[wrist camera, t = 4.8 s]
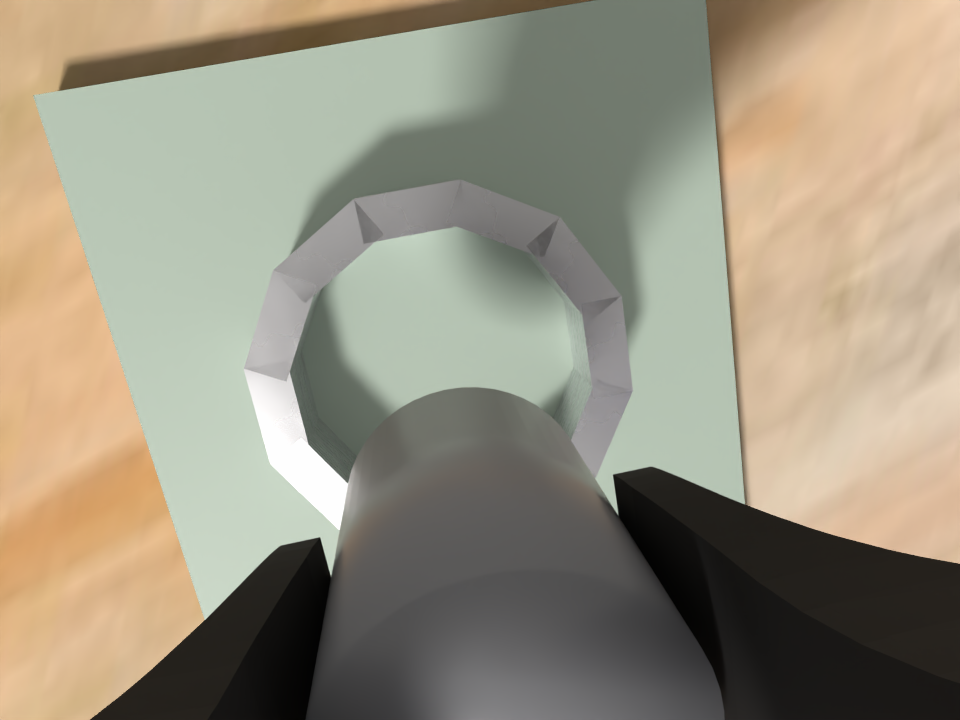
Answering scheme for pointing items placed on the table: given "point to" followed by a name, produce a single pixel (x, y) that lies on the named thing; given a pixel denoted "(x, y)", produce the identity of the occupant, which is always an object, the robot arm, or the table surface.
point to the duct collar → (366, 219)
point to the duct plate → (405, 244)
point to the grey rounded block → (495, 582)
